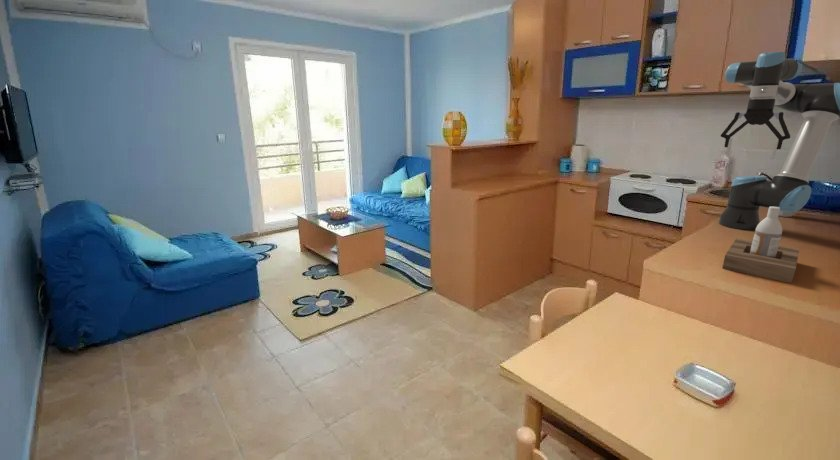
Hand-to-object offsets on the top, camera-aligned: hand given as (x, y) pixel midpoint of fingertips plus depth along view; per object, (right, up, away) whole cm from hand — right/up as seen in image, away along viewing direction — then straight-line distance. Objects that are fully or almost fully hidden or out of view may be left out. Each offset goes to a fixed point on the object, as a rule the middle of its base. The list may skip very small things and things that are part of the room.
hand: (749, 157), depth 153 cm
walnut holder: (-6, -40, -12) cm, 42 cm away
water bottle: (+58, -20, +51) cm, 80 cm away
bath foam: (-6, -39, -12) cm, 42 cm away
